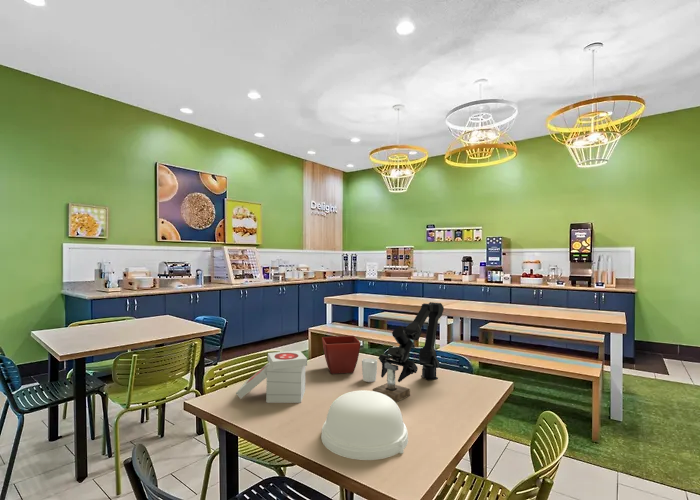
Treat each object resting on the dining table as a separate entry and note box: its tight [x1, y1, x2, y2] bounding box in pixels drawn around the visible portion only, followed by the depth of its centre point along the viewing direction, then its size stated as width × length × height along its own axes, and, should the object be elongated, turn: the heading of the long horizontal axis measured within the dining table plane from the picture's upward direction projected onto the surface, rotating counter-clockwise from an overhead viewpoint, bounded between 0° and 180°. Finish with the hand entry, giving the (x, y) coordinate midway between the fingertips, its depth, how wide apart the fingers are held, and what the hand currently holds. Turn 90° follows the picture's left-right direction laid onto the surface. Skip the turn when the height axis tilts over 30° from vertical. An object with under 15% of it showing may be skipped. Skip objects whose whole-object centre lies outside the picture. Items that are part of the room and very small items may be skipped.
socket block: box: [372, 382, 411, 403], centre depth 163 cm, size 12×12×3 cm
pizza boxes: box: [235, 350, 308, 404], centre depth 161 cm, size 19×30×18 cm, turn 90°
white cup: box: [361, 357, 378, 383], centre depth 184 cm, size 8×8×10 cm
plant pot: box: [321, 335, 362, 375], centre depth 200 cm, size 19×19×17 cm
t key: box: [384, 363, 399, 391], centre depth 163 cm, size 4×6×14 cm, turn 48°
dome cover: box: [320, 389, 409, 461], centre depth 125 cm, size 32×30×14 cm
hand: (389, 379), depth 162 cm, fingers open, 9 cm apart
